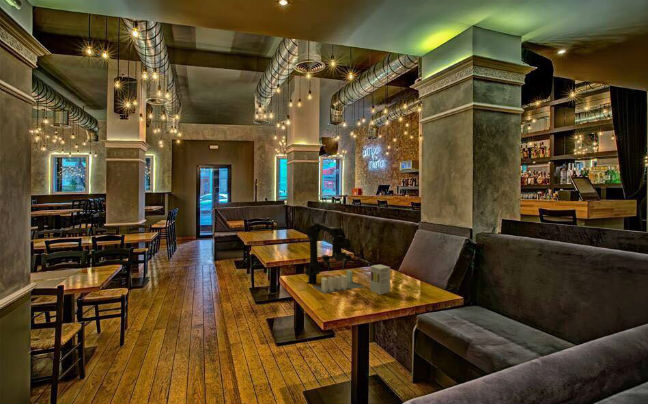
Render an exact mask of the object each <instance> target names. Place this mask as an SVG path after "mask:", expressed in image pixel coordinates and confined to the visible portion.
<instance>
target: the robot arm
mask: <svg viewBox="0 0 648 404" xmlns="http://www.w3.org/2000/svg"><path fill="white" fill-rule="evenodd" d="M314 223H315V224H313V225H310V227H307V229H306V236H307V239H308V240H309V253H310V254H309V255H310V256H309V257H310V258H309V259H310V261H309V263H308V264H307V265H308V267H307V269H306V270H305V276H308V281H306V284H308V285H315V284H319V282H317V281H318V279H317V275H320V272H321V269H322V268H321V266H322V265H321V262H319V260H318V238H319V236H320V232H321V231H324V232H326V233H328V234H329V235H330V236H331V237H330V240H332V241H331V242H332V247H331V249H332V252H331V255H328V254H322V255H321V260H322V261H323V262H325V264H326V265H327V269H328V272H330V271H331V265H330V263H331V261H330V260H335V261H336V262H337V261H342V271H344V270H345V268H346V265H347V263H348V262H350V261H352V255H351V254H349V253H347V252H343V251H342V249H345V250H349V249H351V247H352V243H351V241H350V240H349V238H347V237H346V234H345V232H344V229H343V228H342V227H340V226H331V225H328V224H326V223H323V222H320V221H319V222H314Z"/></svg>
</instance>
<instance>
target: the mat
mask: <svg viewBox="0 0 648 404" xmlns="http://www.w3.org/2000/svg"><path fill="white" fill-rule="evenodd" d="M311 287H312V288H313V289H315V290H317V291H318V292H321V293H323V294H330V293H336V292H343V291H347V290H353V289H360V288H365V287H366V286H365V285H362V284H360V283H358V282H356V281H353V283H349V282H347V289H344V288H342V287H341V290H338V289H336V288H334V291H331V290H329V289H328V292H324V291H322V290H321V284H319V285H312V286H311Z"/></svg>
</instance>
